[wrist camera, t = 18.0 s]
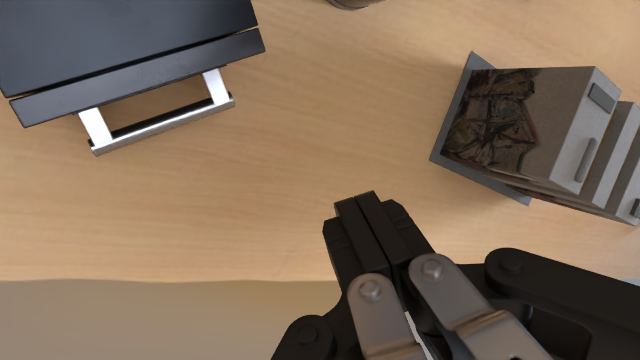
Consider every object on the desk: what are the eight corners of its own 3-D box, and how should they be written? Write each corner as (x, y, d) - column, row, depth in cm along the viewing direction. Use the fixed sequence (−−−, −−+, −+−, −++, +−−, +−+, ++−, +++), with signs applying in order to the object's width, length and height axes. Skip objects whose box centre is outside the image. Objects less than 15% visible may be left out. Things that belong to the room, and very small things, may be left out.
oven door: (236, 97, 39) (282, 103, 28) (77, 154, 34) (58, 187, 23) (216, 44, 37) (258, 27, 26) (45, 95, 32) (7, 101, 21)
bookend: (528, 205, 65) (640, 240, 51) (428, 160, 53) (540, 189, 39) (564, 117, 65) (688, 128, 51) (472, 50, 52) (602, 39, 38)
